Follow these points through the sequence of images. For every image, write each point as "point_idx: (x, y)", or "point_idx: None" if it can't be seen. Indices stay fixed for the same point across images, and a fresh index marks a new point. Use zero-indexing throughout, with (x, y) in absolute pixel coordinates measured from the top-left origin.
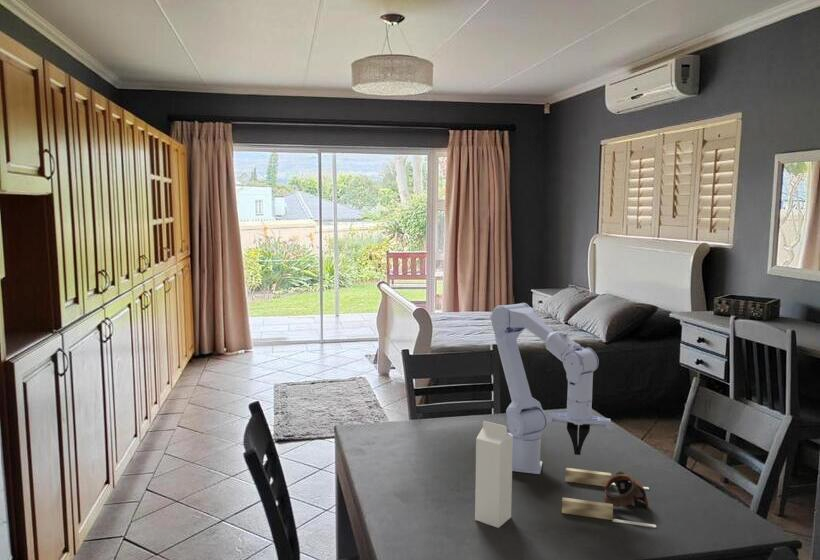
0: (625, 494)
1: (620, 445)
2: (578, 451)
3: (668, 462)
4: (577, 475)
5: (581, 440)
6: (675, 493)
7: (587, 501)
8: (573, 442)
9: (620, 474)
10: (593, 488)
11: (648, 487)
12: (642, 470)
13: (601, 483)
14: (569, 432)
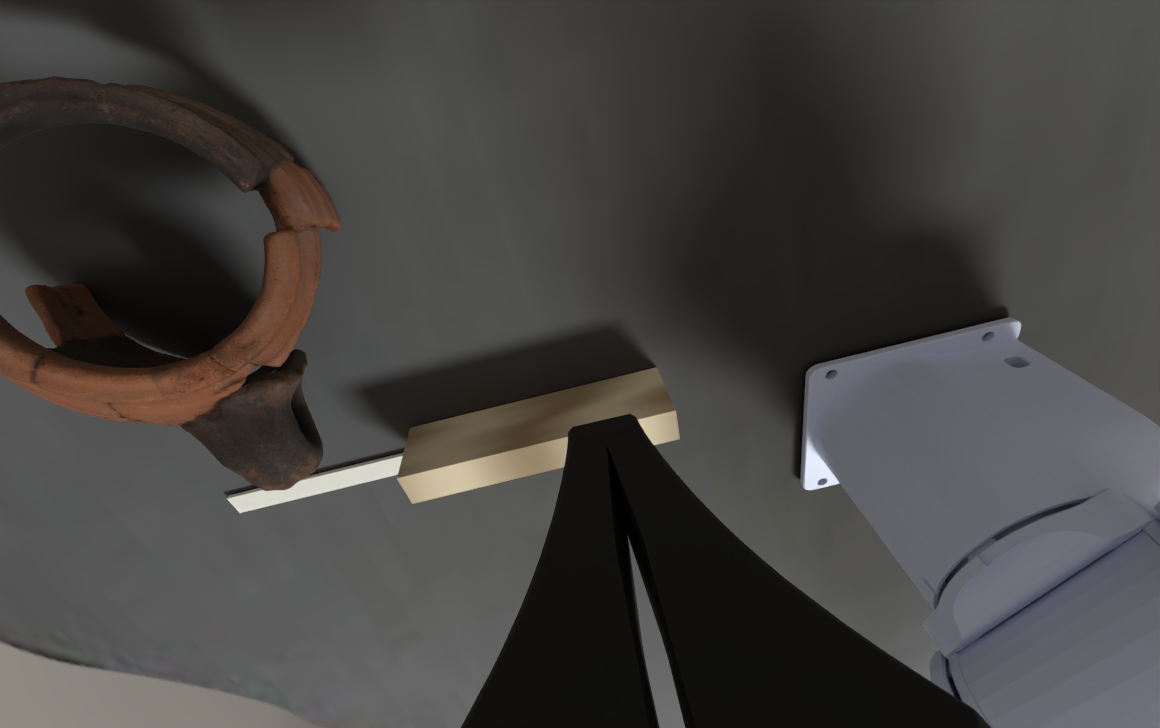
0: None
1: None
2: (592, 445)
3: (310, 708)
4: (597, 410)
5: (569, 592)
6: (101, 524)
7: None
8: (695, 517)
9: (164, 394)
10: (488, 368)
11: (239, 510)
12: (362, 624)
13: (458, 424)
14: (892, 681)
